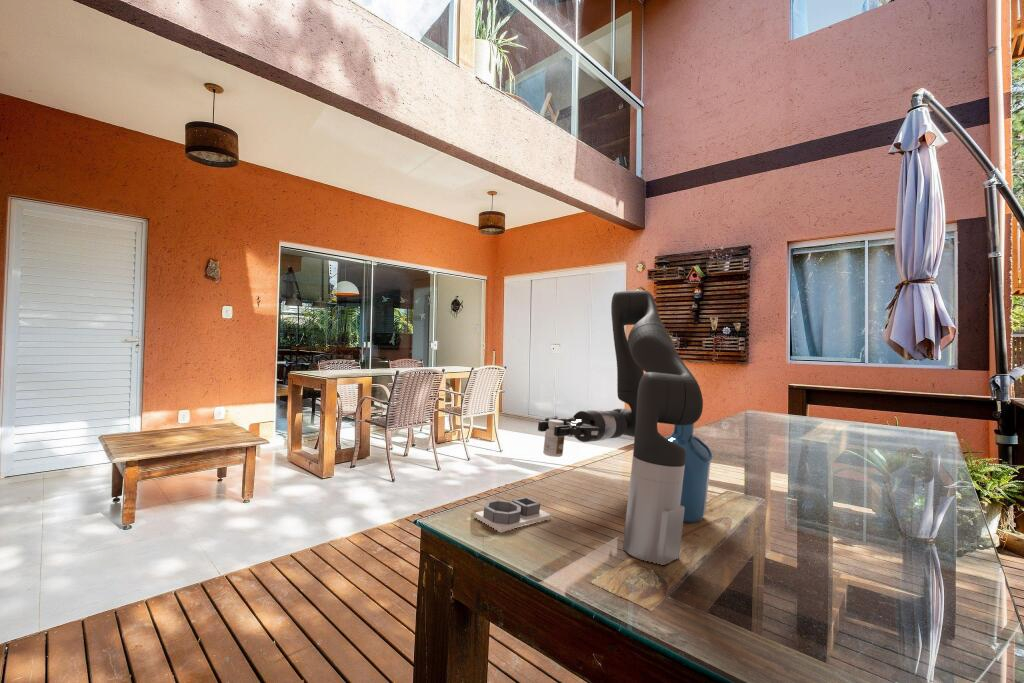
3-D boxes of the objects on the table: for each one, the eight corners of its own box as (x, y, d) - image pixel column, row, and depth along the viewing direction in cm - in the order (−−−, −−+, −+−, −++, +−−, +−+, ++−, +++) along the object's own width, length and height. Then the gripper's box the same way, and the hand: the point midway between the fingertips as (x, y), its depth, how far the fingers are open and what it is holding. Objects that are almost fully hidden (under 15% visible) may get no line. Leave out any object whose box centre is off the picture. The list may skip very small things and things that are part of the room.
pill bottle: (561, 458, 99) (565, 423, 99) (541, 455, 100) (545, 420, 100) (563, 454, 103) (566, 420, 103) (544, 451, 104) (547, 418, 104)
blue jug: (634, 507, 107) (648, 383, 107) (663, 499, 116) (676, 384, 116) (689, 529, 97) (704, 391, 97) (716, 519, 106) (730, 392, 106)
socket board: (550, 519, 94) (552, 505, 94) (500, 532, 84) (502, 516, 84) (523, 506, 99) (525, 493, 99) (474, 517, 90) (476, 502, 90)
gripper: (573, 405, 117) (526, 406, 105) (619, 416, 106) (573, 418, 95) (570, 434, 117) (523, 438, 105) (616, 447, 106) (570, 453, 95)
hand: (547, 428), depth 100 cm, fingers closed on pill bottle, 4 cm apart
